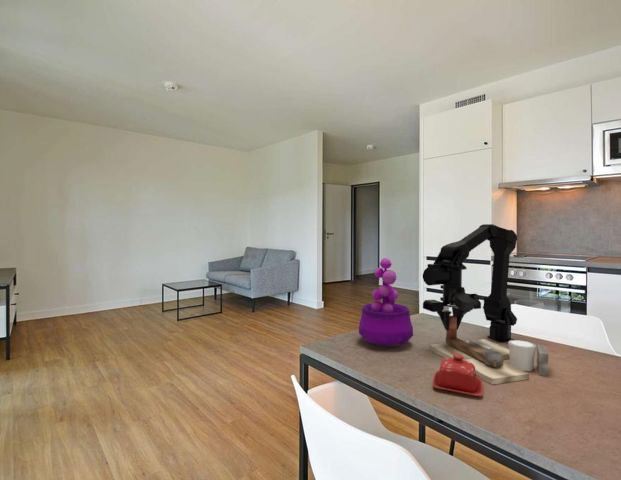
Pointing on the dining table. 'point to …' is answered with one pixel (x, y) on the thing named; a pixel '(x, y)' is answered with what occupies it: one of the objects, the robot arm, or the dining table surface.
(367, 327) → the decorative plant
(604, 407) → the dining table surface
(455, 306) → the robot arm
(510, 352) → the white mug
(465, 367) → the butter dish
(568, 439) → the dining table surface
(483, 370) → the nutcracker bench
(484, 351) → the lever
